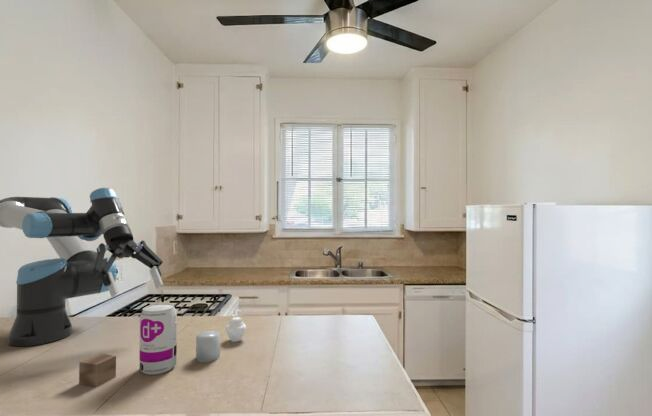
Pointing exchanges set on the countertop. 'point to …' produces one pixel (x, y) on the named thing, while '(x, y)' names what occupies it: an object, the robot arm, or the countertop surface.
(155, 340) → the supplement can
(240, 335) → the white ribbed rounded piece
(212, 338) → the white rounded cylinder
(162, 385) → the countertop surface
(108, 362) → the walnut block
